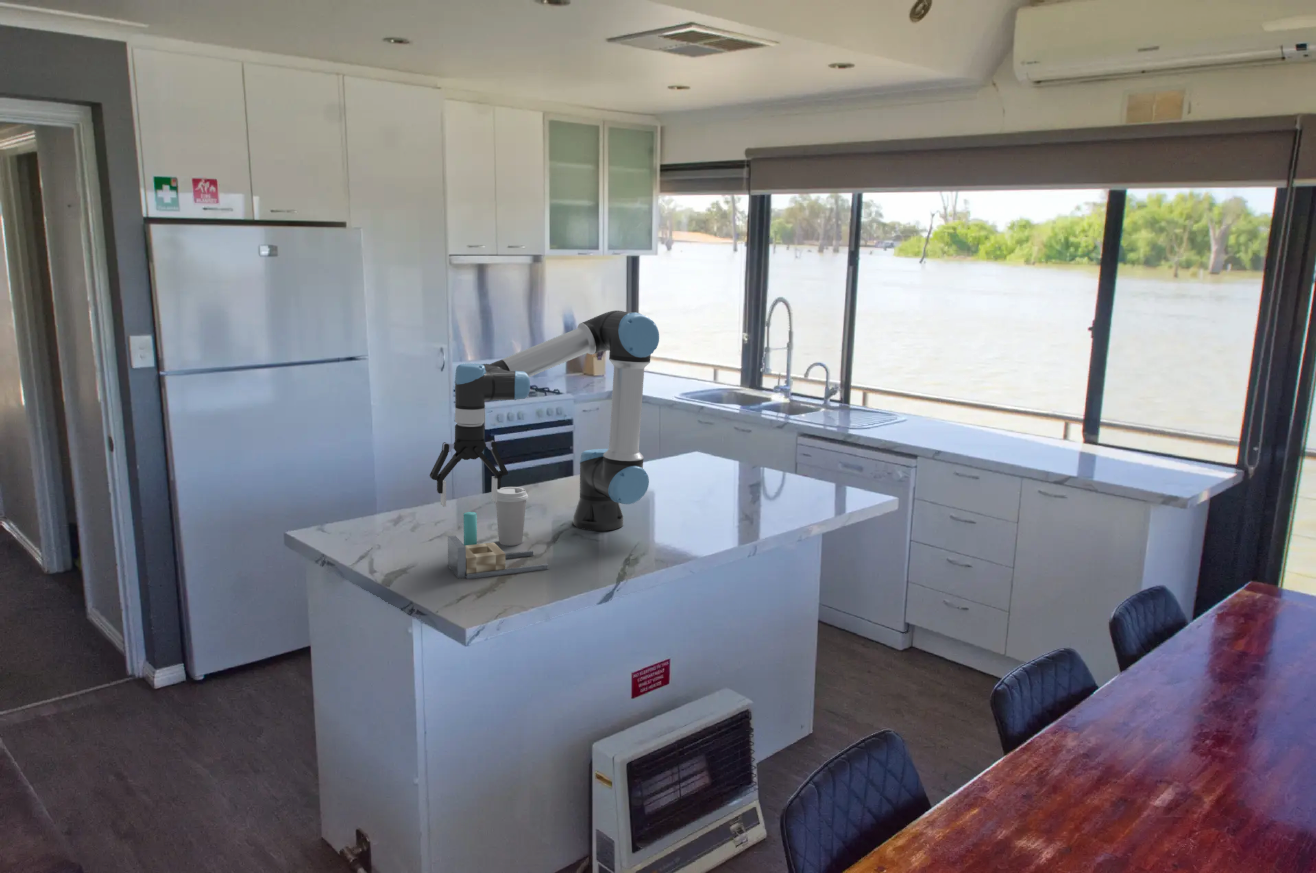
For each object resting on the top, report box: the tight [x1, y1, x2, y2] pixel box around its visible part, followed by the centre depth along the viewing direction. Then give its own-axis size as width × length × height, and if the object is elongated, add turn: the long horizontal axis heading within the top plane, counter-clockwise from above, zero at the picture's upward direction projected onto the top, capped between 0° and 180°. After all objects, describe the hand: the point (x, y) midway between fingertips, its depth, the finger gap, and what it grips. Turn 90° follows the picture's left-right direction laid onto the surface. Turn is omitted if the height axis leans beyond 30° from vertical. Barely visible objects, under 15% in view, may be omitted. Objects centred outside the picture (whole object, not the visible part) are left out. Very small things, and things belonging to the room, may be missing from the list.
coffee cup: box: [495, 486, 529, 547], centre depth 260 cm, size 10×10×15 cm
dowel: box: [463, 511, 478, 546], centre depth 246 cm, size 3×3×12 cm
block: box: [465, 542, 506, 574], centre depth 238 cm, size 10×10×5 cm
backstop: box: [447, 535, 549, 580], centre depth 239 cm, size 23×12×8 cm, turn 116°
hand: (469, 503), depth 244 cm, fingers open, 13 cm apart
